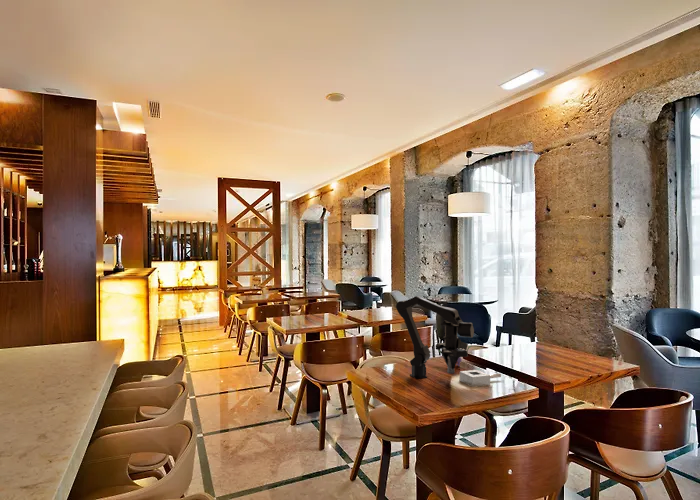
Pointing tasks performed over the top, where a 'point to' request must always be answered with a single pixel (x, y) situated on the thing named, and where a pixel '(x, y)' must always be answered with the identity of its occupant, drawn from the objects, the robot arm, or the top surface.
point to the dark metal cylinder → (450, 366)
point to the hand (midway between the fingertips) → (450, 367)
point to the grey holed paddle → (476, 378)
